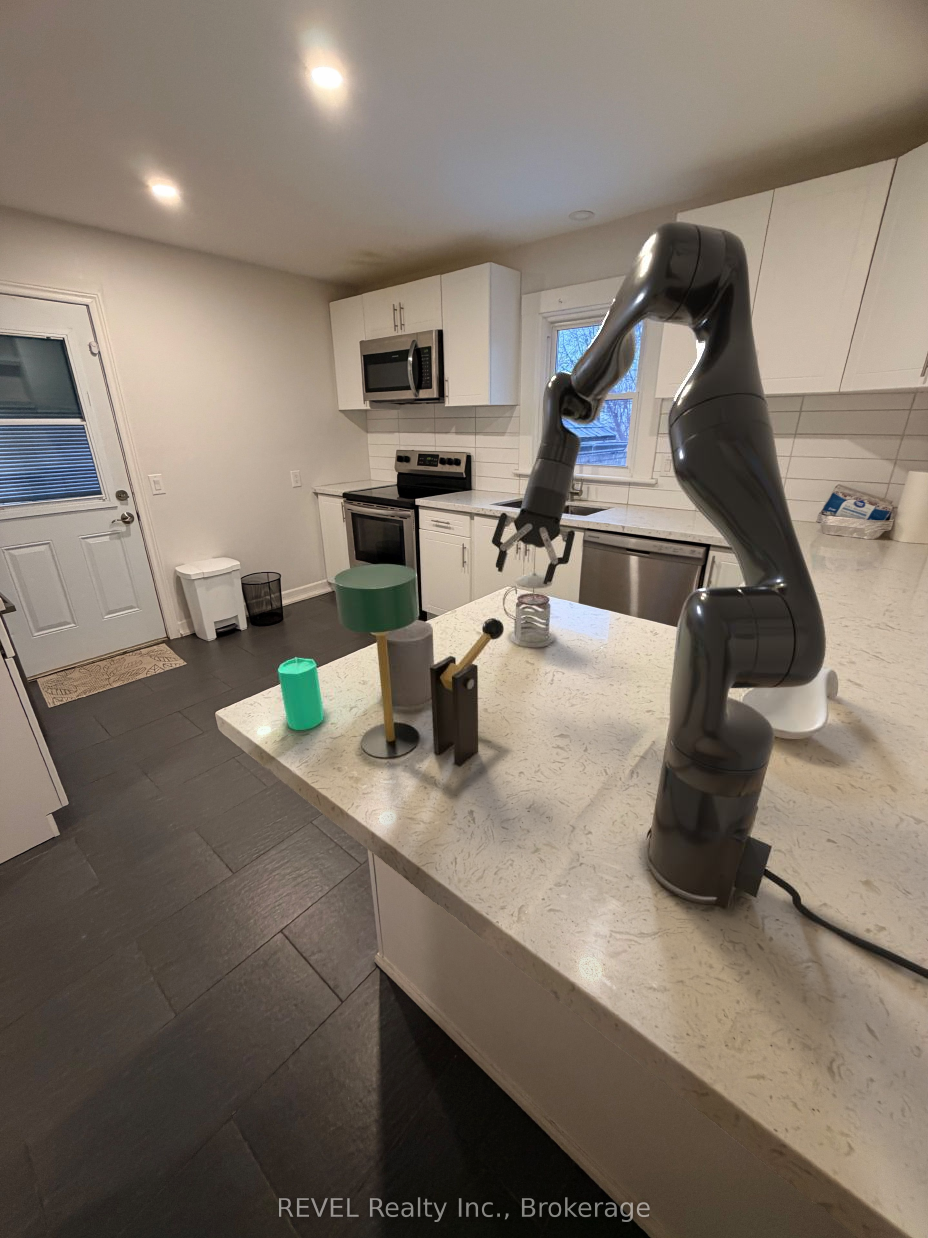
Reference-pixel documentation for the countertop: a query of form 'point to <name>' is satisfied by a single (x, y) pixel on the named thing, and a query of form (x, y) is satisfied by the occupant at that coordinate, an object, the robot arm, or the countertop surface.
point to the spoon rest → (795, 705)
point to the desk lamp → (380, 638)
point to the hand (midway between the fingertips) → (522, 578)
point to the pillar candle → (410, 663)
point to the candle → (301, 693)
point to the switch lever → (474, 650)
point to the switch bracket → (455, 711)
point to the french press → (531, 612)
